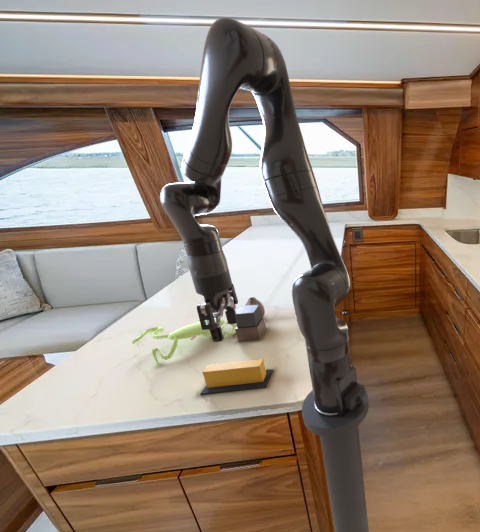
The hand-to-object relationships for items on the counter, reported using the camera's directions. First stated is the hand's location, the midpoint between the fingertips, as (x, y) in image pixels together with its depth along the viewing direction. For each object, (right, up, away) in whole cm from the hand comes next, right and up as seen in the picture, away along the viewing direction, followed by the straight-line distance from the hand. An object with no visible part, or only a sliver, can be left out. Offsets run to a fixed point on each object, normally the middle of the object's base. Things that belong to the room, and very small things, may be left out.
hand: (226, 331), depth 74 cm
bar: (0, -14, +5) cm, 15 cm away
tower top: (-7, -3, +26) cm, 27 cm away
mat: (0, -15, +5) cm, 16 cm away
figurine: (-27, -9, +25) cm, 38 cm away
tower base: (-7, -7, +27) cm, 29 cm away
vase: (-11, -4, +38) cm, 40 cm away
